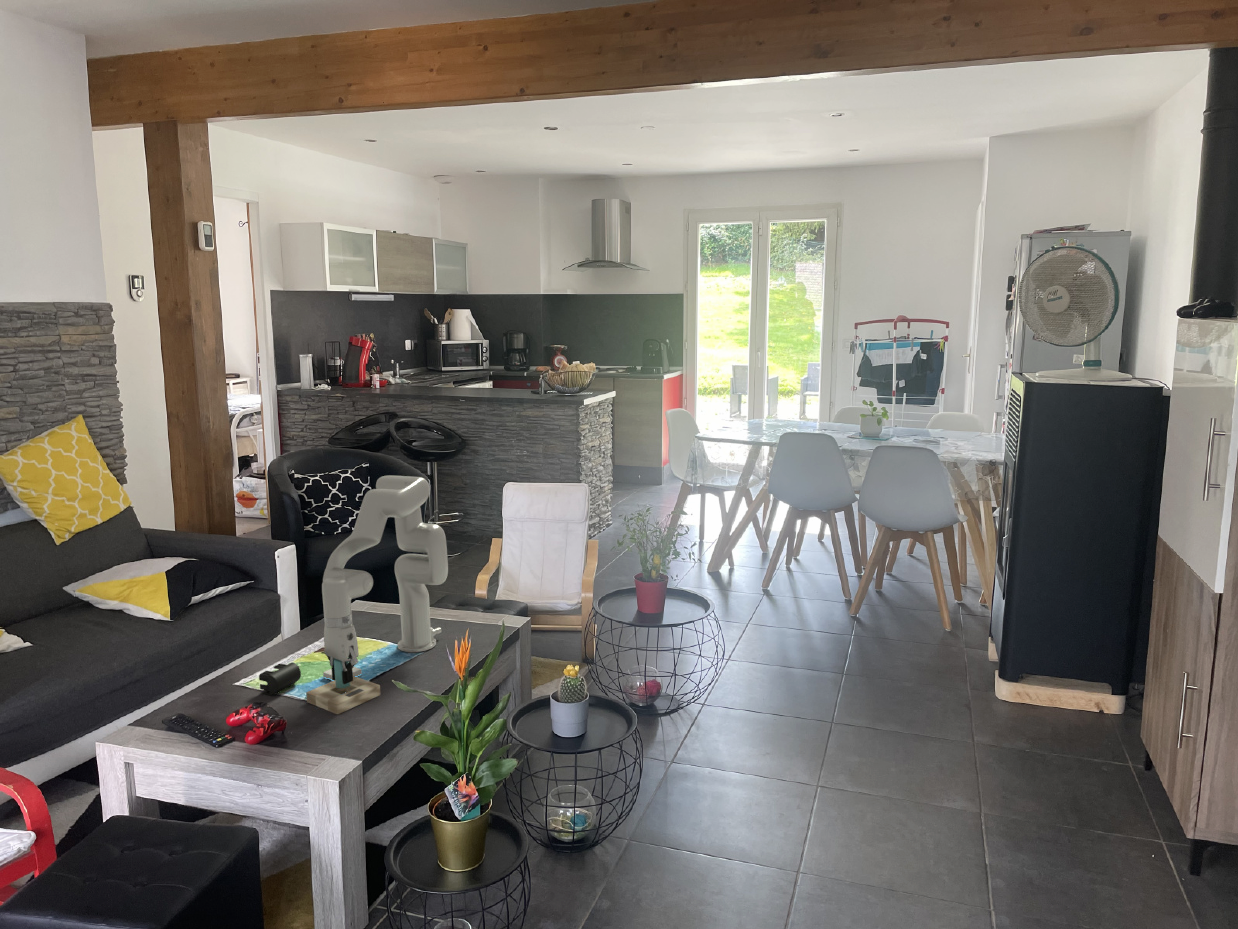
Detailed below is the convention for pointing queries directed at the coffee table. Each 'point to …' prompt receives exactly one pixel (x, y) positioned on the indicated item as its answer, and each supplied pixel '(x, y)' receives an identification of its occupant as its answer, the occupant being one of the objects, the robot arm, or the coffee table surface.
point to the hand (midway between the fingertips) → (342, 679)
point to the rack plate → (343, 695)
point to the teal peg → (339, 674)
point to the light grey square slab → (355, 671)
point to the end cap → (279, 678)
